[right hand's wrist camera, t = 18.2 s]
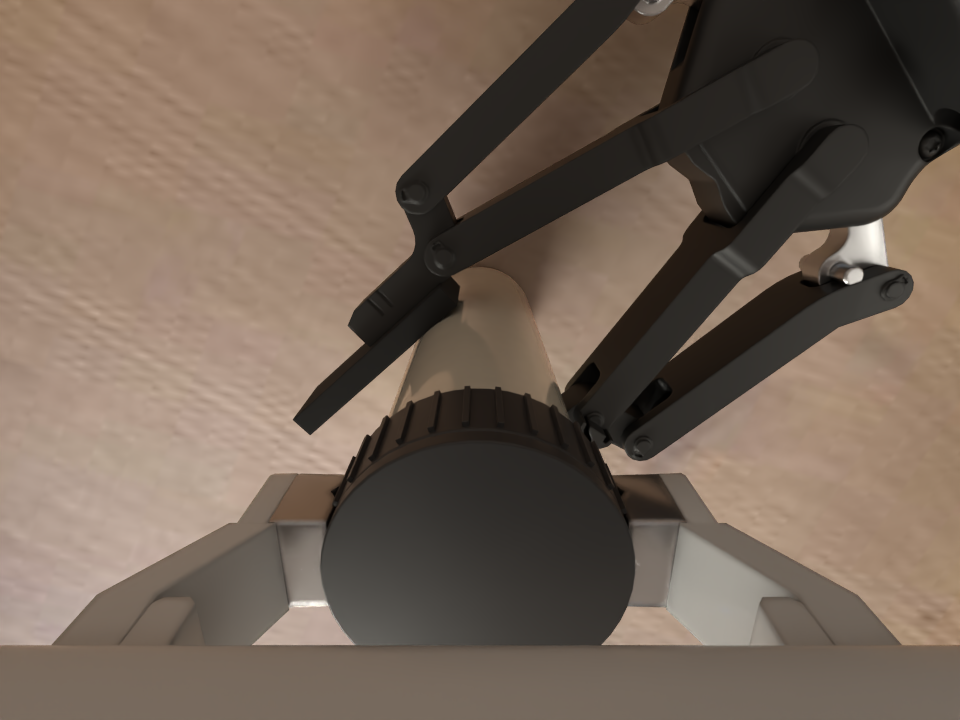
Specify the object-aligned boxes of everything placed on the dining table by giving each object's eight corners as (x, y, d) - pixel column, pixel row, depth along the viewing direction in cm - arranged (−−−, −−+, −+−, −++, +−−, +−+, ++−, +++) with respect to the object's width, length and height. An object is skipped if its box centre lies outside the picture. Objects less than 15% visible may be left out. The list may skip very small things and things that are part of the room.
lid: (317, 569, 11) (283, 653, 9) (388, 344, 9) (365, 389, 7) (549, 634, 12) (563, 725, 10) (657, 434, 10) (699, 497, 8)
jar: (513, 252, 23) (571, 403, 8) (542, 347, 24) (634, 618, 10) (414, 285, 23) (302, 481, 9) (448, 376, 24) (402, 674, 10)
